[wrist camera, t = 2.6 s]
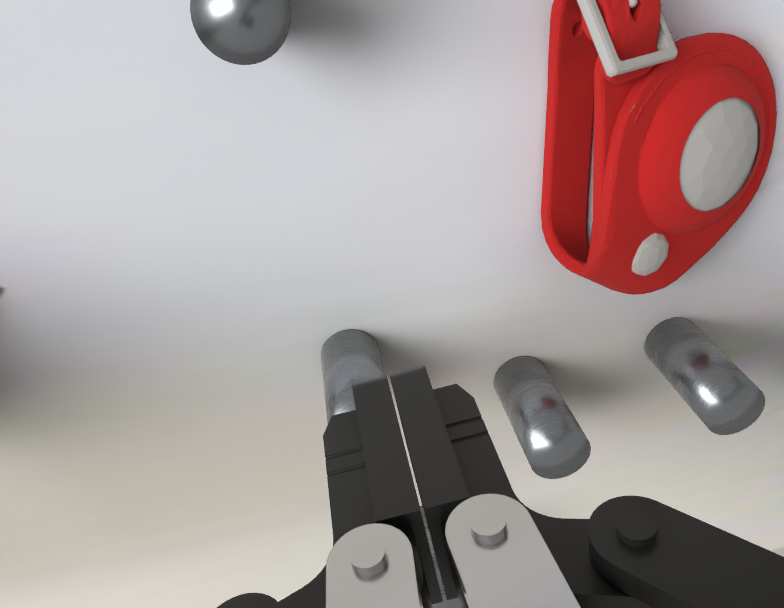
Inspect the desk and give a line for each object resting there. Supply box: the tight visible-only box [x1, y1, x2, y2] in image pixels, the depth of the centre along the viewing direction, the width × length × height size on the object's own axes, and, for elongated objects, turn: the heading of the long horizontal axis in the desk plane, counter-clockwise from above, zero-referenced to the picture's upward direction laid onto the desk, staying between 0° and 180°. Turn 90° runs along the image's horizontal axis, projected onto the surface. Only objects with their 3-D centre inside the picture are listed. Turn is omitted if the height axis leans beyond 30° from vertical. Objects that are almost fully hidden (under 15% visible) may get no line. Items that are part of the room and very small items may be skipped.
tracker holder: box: [541, 0, 777, 294], centre depth 24 cm, size 12×4×10 cm
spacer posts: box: [190, 0, 765, 608], centre depth 24 cm, size 23×31×5 cm
